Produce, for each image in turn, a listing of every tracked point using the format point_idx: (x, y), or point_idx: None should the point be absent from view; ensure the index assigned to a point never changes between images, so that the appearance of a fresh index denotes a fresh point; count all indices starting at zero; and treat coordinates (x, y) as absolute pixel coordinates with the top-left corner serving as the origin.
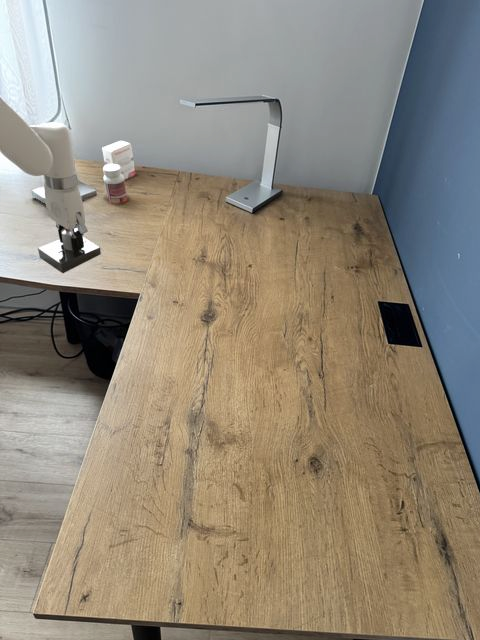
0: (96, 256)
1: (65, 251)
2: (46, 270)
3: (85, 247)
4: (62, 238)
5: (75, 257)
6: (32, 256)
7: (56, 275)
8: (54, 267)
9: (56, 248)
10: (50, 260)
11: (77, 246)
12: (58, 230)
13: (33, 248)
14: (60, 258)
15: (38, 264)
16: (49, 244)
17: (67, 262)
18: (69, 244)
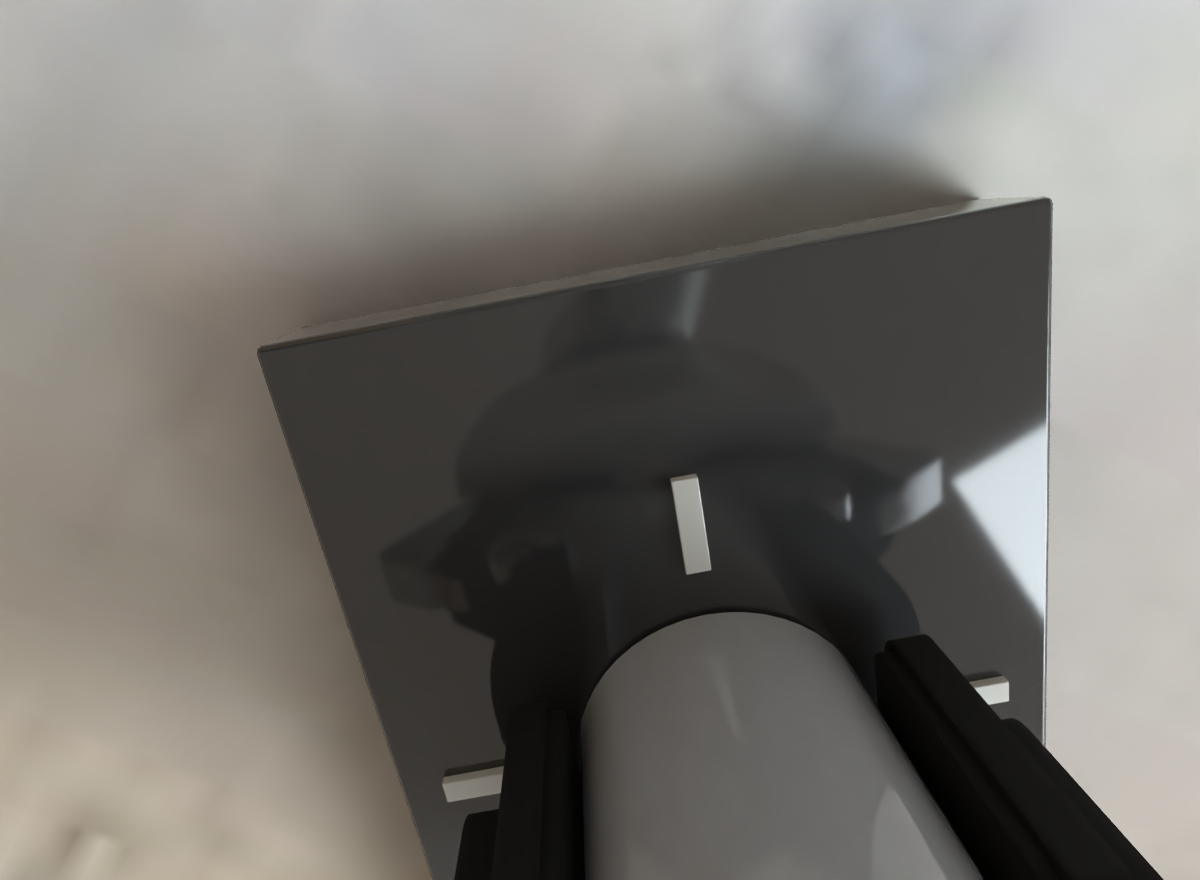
0: None
1: (634, 585)
2: (389, 69)
3: None
4: (814, 755)
5: (367, 645)
6: (961, 48)
7: (152, 159)
8: None
9: (818, 496)
10: (629, 267)
11: (463, 844)
12: (1091, 857)
13: (1176, 184)
14: (453, 419)
15: (653, 25)
16: (1014, 446)
17: (304, 473)
18: (618, 755)
